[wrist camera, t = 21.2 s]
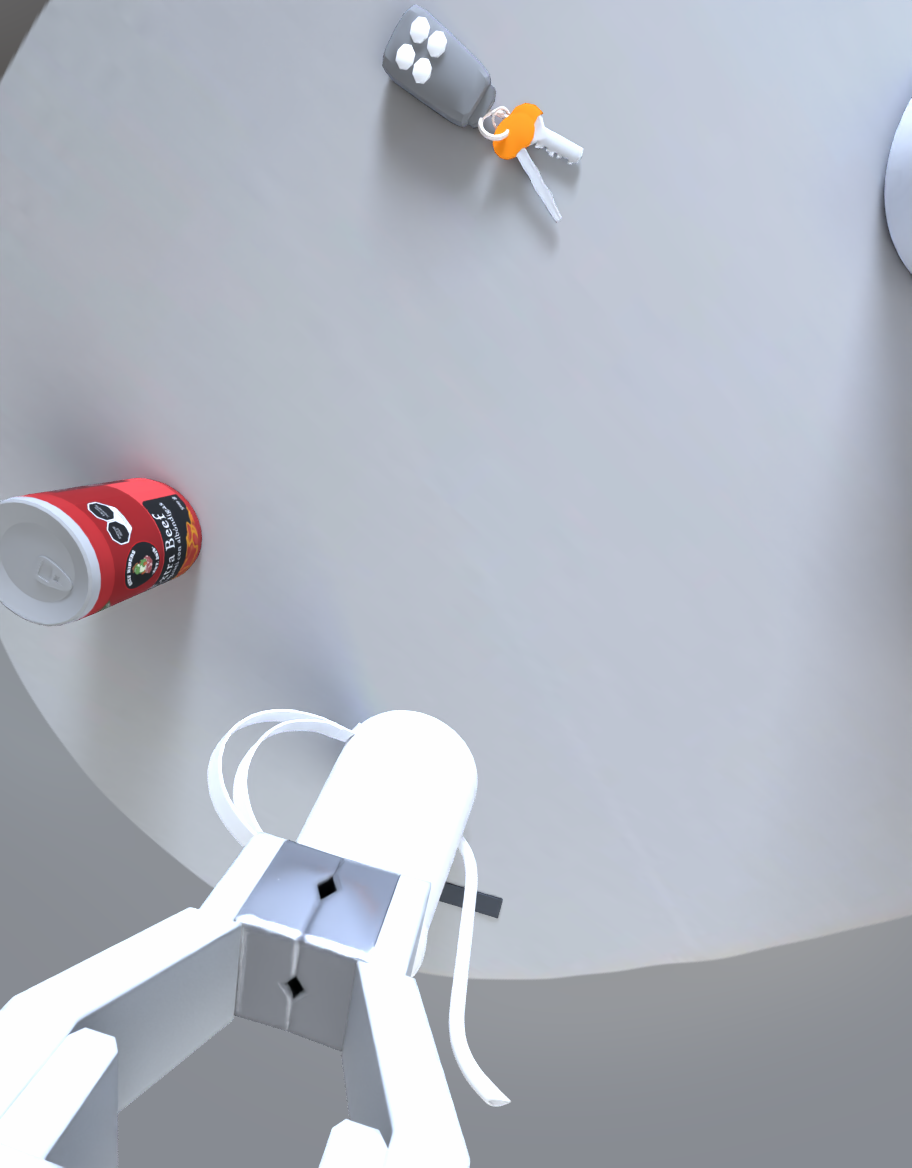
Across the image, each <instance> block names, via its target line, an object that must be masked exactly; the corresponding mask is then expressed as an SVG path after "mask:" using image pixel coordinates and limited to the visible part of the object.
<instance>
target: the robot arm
mask: <svg viewBox="0 0 912 1168" xmlns="http://www.w3.org/2000/svg"><path fill="white" fill-rule="evenodd" d="M884 197H885V212H886V218H887V224H888V228H889V232H890V235H891V238H892V241H893V243H894V246H895V248H896V250H897V252H898V254H899V256H900V258H901V260H902V261H903V263H904V265H905V266H906V267H907V269H908V270H909V271H910V273H911V274H912V98H911V99H910V101H909V103H908V105H907V107H906V109H905V111H904V113H903V116H902V118H901V120H900V122H899V125H898V127H897V130H896V133H895V136H894V139H893V142H892V145H891V149H890V153H889V157H888V162H887V168H886V176H885V189H884ZM430 890H431V882H428V881H425V880H421V879H418V878H414V877H411V876H407V875H404V874H402V875H401V873H397V872H394V871H390V870H387V869H383V868H379V867H376V866H372V865H369V864H365V863H362V862H358V861H355V860H351V859H348V858H342V857H339V856H336V855H333V854H330V853H327V852H324V851H321V850H318V849H315V848H312V847H309V846H306V845H303V844H299V843H296V842H293V841H290V840H285V839H282V838H279V837H276V836H273V835H270V834H267V833H264V832H261V831H260V832H259V833H257V834H256V835H255V836H253V837H252V838H251V839H250V841H249V842H248V843H247V845H246V846H245V847H244V849H243V850H242V851H241V853H240V854H239V856H238V857H237V858H236V860H235V861H234V862H233V864H232V865H231V866H230V868H229V869H228V871H227V872H226V873H225V875H224V876H223V877H222V879H221V880H220V881H219V883H218V884H217V885H216V887H215V888H214V890H213V891H212V892H211V894H210V895H209V896H208V898H207V899H206V901H205V902H204V903H203V905H202V906H201V907H200V909H199V910H198V909H195V908H191V907H189V908H187V909H185V910H183V911H181V912H179V913H177V914H175V915H173V916H171V917H169V918H167V919H165V920H164V921H161V922H160V923H158V924H156V925H154V926H152V927H150V928H148V929H146V930H144V931H142V932H140V933H138V934H136V935H134V936H132V937H130V938H128V939H126V940H124V941H122V942H120V943H118V944H116V945H115V946H112V947H110V948H108V949H106V950H105V951H103V952H101V953H99V954H97V955H95V956H93V957H91V958H89V959H87V960H85V961H83V962H81V963H79V964H77V965H75V966H73V967H71V968H69V969H67V970H65V971H63V972H61V973H59V974H57V975H55V976H53V977H51V978H49V979H47V980H45V981H44V982H42V983H40V984H38V985H36V986H34V987H32V988H30V989H28V990H26V991H24V992H22V993H20V994H18V995H16V996H14V997H13V998H11V1000H10V1001H9V1002H8V1003H7V1004H6V1005H5V1006H4V1007H3V1008H2V1009H1V1010H0V1168H118V1113H119V1112H120V1111H121V1110H122V1109H124V1108H125V1107H126V1106H127V1105H129V1104H130V1103H131V1102H132V1101H134V1100H135V1099H136V1098H137V1097H138V1096H140V1095H141V1094H142V1093H143V1092H145V1091H146V1090H147V1089H148V1088H150V1087H151V1086H152V1085H153V1084H155V1083H156V1082H157V1081H158V1080H160V1079H161V1078H162V1077H163V1076H165V1075H166V1074H167V1073H168V1072H169V1071H171V1070H172V1069H173V1068H174V1067H176V1066H177V1065H178V1064H179V1063H181V1062H182V1061H183V1060H184V1059H186V1058H187V1057H188V1056H189V1055H190V1054H192V1053H193V1052H194V1051H195V1050H197V1049H198V1048H199V1047H200V1046H202V1045H203V1044H204V1043H205V1042H206V1041H208V1040H209V1039H210V1038H211V1037H213V1036H214V1035H215V1034H216V1033H218V1032H219V1031H220V1030H221V1029H223V1028H224V1027H225V1026H226V1025H228V1024H229V1023H230V1022H231V1021H233V1019H234V1015H235V1016H238V1017H242V1018H245V1019H248V1020H252V1021H255V1022H258V1023H261V1024H265V1025H268V1026H272V1027H275V1028H278V1029H281V1030H285V1031H288V1032H291V1033H293V1034H296V1035H299V1036H301V1037H304V1038H307V1039H309V1040H312V1041H315V1042H318V1043H320V1044H323V1045H326V1046H328V1047H331V1048H333V1049H336V1050H339V1051H342V1055H341V1056H342V1064H343V1072H344V1080H345V1088H346V1095H347V1102H348V1110H349V1119H350V1120H347V1119H345V1120H344V1121H342V1122H341V1123H339V1124H338V1125H336V1126H335V1127H333V1128H332V1130H331V1133H330V1137H329V1139H328V1142H327V1145H326V1148H325V1151H324V1154H323V1157H322V1160H321V1163H320V1166H319V1168H469V1165H470V1157H469V1154H468V1151H467V1147H466V1144H465V1141H464V1138H463V1134H462V1131H461V1128H460V1124H459V1121H458V1118H457V1114H456V1111H455V1108H454V1105H453V1101H452V1099H451V1095H450V1092H449V1088H448V1085H447V1082H446V1078H445V1075H444V1072H443V1069H442V1065H441V1062H440V1059H439V1055H438V1052H437V1049H436V1046H435V1042H434V1039H433V1036H432V1033H431V1029H430V1026H429V1023H428V1019H427V1016H426V1013H425V1009H424V1006H423V1003H422V1000H421V996H420V993H419V990H418V987H417V983H416V980H415V979H414V978H412V977H411V973H412V969H413V965H414V960H415V956H416V952H417V948H418V943H419V939H420V935H421V930H422V926H423V921H424V917H425V912H426V908H427V903H428V899H429V894H430Z"/></svg>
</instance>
